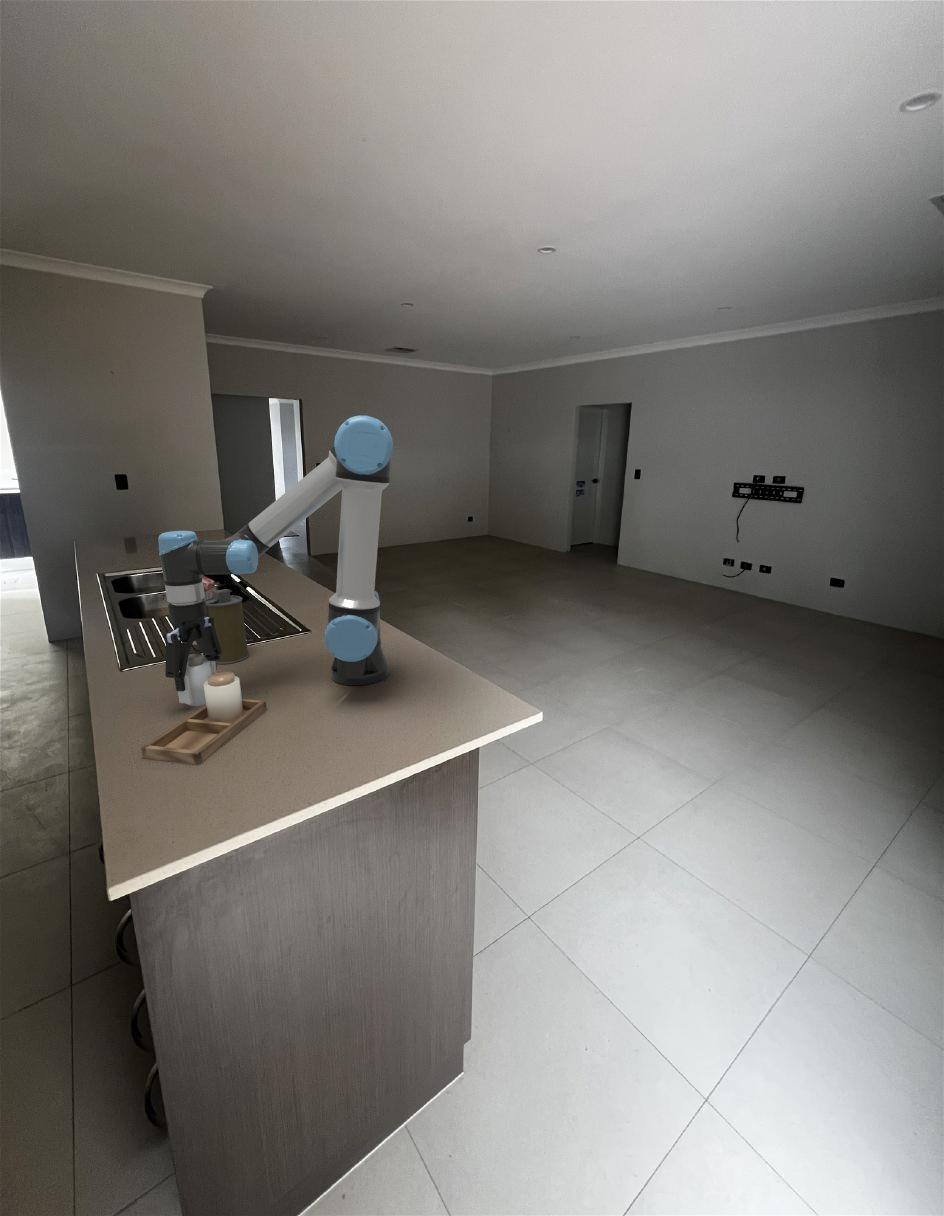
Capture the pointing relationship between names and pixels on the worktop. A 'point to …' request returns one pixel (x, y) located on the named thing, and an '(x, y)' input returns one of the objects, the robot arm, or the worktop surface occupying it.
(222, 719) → the ceramic jar
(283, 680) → the worktop surface
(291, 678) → the worktop surface
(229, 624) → the canister
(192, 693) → the plastic bottle
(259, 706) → the caddy
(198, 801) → the worktop surface
